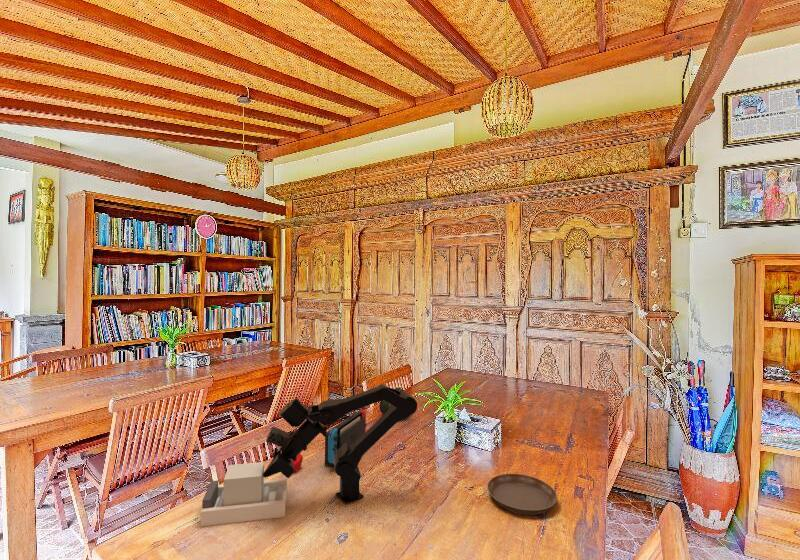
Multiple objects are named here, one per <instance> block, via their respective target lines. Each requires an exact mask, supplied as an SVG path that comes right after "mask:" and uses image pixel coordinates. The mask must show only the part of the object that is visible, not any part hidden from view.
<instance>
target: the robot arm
mask: <svg viewBox="0 0 800 560" xmlns="http://www.w3.org/2000/svg"><path fill="white" fill-rule="evenodd" d="M382 400H385V401H387V402H388V403H390V404H391V405H390V407H389V409H388V411H387V412H386V413H385V414H384V415H383V414H382V415H381V417H380V418H378V420H377V421H375V423H373V424H372V425H371V426H370V427H369V428H368V429H366V432H365V433H364V434H363V435H362V436H361V437H360V438H359V439H358V440H357V441H356V442H354V443H353V444H350V445H348V444H347V443H346V442H345V443H344V444H343V445H342V447H341V448H339V449H337V450H336V454H335V455H334V467H333V468H334V471H335V473H336V475H337V476H339V477H340V478H339V491H338V492H336V493H335V496H336V497H337V498H338V499H339V500H340V501H342V502H343V503H344V504H346V505H347V504H351V503H352V502H355V501H357V500H360V499H362V498H364V494H362V493H361V492H360V481H361V477H362V476H361V472H360V468H359V463H361V460H362V458H363V456H364V454H366V453H367V452H368V451H369V450H370V449H371V448H372V447H373V446H374V445H375V444H376V443H377V442H379V441H380V440H381V438H383V437H384V436H385V435H386V434H387V433H388V432H389V431H390V430H391V429H392V428H393V427H394V426H395V425H396V424H397V423H399V422H401V421H404V420H406V419H408V418H409V417H411V416H412V415H414V414H415V413H416V412H417V410H418V402H417V400H416V399H415V398H414V396H412V395H411V394H410V393H409V392H408V391H403V392H399V391H397V390H395V388H392V387H390V386H387V385H386V384H379V385H377V386H376V387H373V388H370V389H367V390H365V391H362V392H359V393H357V394H354V395H351V396H348V397H345V398H337V399H336V398H332V399H329V400H328V399H327V400H324V401H322V402H320V403H319V404H315V405H314V404H313V405H310V406H305V405H304V404H303V403H302V401H301V400H300V399H299V398H298V397H295V398H294V399H292V400H290V401H288V402H287V403H286V404H285V405H284V406H283V407H282V408H281V409H280V411H279V412H278V415H279V416H280V417H281V418H282V420H284V421H285V422H286V423H287V424H289V425H290V426H291V428H297V427H298V428H297V429H296V430H294V429H293V430H291V431H290V432H287V431H286V430H282V429H281V428H278V427H275V426H271V428H270V431H269V432H268V434H267V437H266V440H265V441H266V443H268V444H273V445H275V446H277V447H278V448H277V447H274V449H273V457H272V459H271V461H270V462H269V463H268V466H267V467H266V468H265V469H264V473H263V477H264V479H266V478H269V477H271V476H274V475H277V474H279V473H281V474H282V475H283V476H284V477H286V479H289V478H291V477H292V476H293V475H294V473H295V472H294V463H293V462H292V461H291V459H292V460H293V461H294V462H295V461H296V460H297V456H298V455H299V454H302V452H303V451H304V452H305V451H306V450H308V446H309V445H310V444H311V443H312V442H313V441H314V440H315V438H316V437H318V435H319V434H321V435H322V436H323V437H324V438H325V437H326V436H327V434H326V432H327V431H328V426H331V425H332V424H335V423H336V422H338V421H339V420H341V419H342V418H343V417H344V416H346V415H347V414H349V413H352V412H354V411H357V410H361V409H363V408H364V407H368V406H370V405H373V404H376V403H380V401H382Z"/></svg>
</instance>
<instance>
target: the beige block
mask: <svg viewBox="0 0 800 560" xmlns="http://www.w3.org/2000/svg"><path fill="white" fill-rule="evenodd" d="M227 467H228V468H227V471H226V473H225V475H224V478H223V485H224V494H223V506H232V505H242V504H251V503H261V502H262V496H263V490H264V481H265V478H264V477H263V473H264V472H265V461H260V462H251V463H250V462H247V463H235V464H229V465H228V466H227Z"/></svg>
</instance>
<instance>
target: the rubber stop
mask: <svg viewBox="0 0 800 560" xmlns="http://www.w3.org/2000/svg"><path fill="white" fill-rule="evenodd" d="M218 485H219V480H210V482H209V485H208V487H207V490H206V492H205V493H204V496H203V498H202V503H201V505H202V506H201V510H202V509H204V508H213V507H214V506H215V503H216V501H217V498H218Z"/></svg>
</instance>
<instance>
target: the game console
mask: <svg viewBox="0 0 800 560" xmlns="http://www.w3.org/2000/svg"><path fill="white" fill-rule="evenodd" d="M367 426H368V424H367V411H366V410H365V408H364V409H363V408H361V409H358V411H357V412H356V413H354V414H353V415H350V416H348V417H347V418H346V419H343V420H342V421H341V422H339V423H338V424H336V425H335V426H334V427H331V428H330V429H329V430H327V431H326V434H327V436H326V437H324V467H325V466H326V467H329V468H335V467H334V455H335V454H336V450H337V449H339V448H341V447H342V445H343V444H344V443H345V442H346V443H347V444H348V445H350V444H353V443H354V442H356V441H357V440H358V439H359V438H360V437H361V436H362V435H363V434H364V433H365V432H366V431H367Z"/></svg>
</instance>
